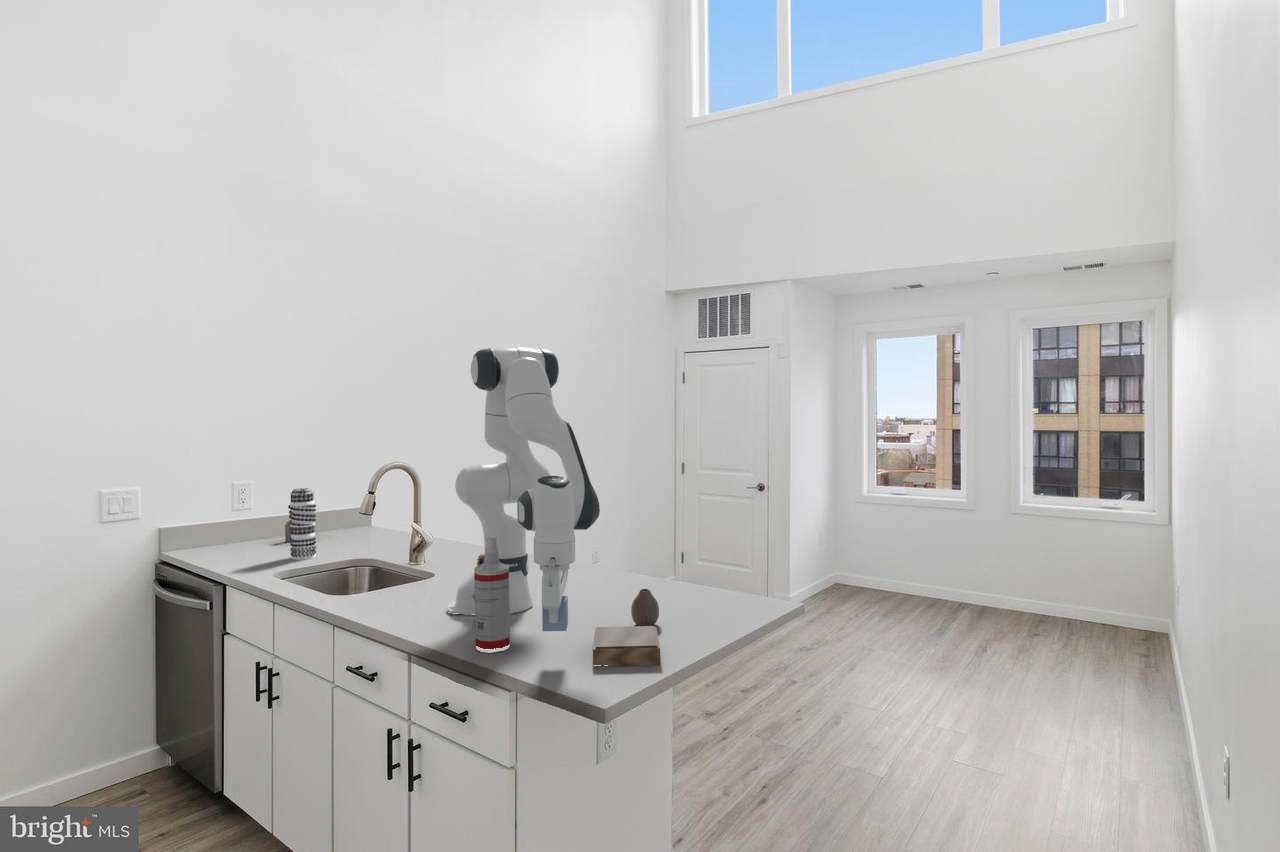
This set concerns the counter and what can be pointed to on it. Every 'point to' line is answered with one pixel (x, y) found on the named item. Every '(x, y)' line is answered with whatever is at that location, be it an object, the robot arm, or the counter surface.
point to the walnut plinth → (626, 646)
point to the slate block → (562, 617)
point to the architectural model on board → (289, 531)
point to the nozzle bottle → (492, 600)
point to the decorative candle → (302, 524)
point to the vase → (645, 609)
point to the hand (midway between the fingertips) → (555, 617)
